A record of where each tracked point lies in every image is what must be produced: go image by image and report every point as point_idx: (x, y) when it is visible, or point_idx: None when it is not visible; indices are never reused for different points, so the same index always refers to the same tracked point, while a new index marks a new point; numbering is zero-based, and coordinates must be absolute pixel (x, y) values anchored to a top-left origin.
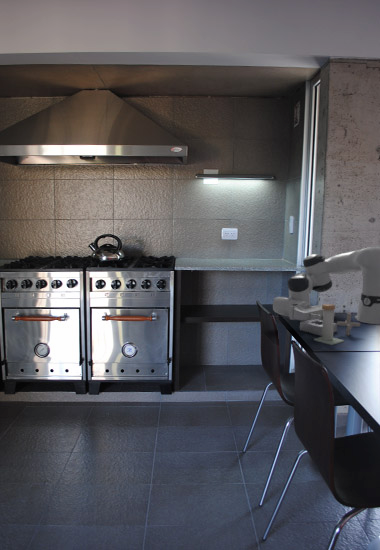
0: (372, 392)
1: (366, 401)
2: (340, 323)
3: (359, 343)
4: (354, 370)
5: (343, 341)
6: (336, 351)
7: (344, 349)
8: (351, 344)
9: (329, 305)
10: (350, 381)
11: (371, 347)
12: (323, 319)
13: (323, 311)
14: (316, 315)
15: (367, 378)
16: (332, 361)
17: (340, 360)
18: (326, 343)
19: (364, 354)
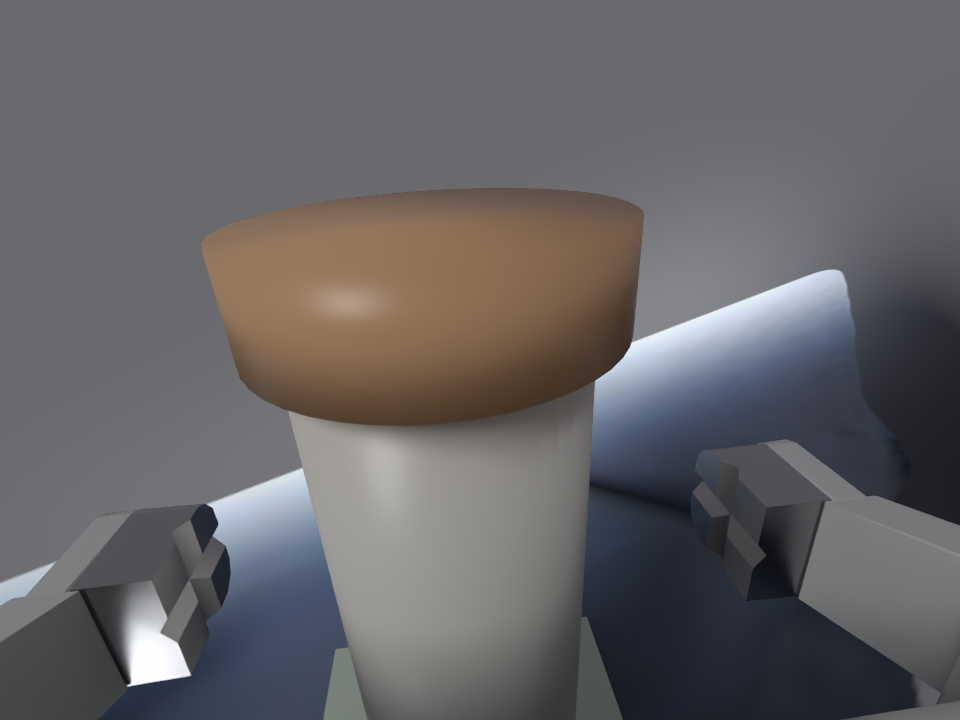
0: (773, 293)
1: (822, 282)
2: None
3: (280, 558)
4: (735, 351)
5: (347, 656)
6: (662, 501)
7: None
8: None
9: (439, 207)
10: (811, 321)
11: None
12: (582, 588)
13: (587, 423)
14: (867, 510)
15: (727, 321)
16: (801, 414)
17: (738, 411)
18: (610, 696)
19: None
